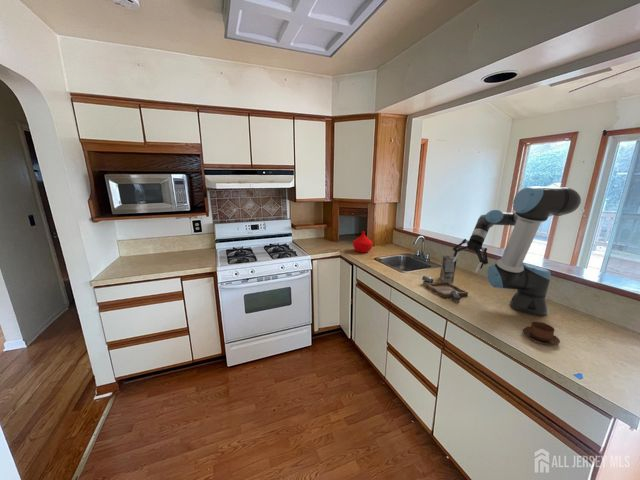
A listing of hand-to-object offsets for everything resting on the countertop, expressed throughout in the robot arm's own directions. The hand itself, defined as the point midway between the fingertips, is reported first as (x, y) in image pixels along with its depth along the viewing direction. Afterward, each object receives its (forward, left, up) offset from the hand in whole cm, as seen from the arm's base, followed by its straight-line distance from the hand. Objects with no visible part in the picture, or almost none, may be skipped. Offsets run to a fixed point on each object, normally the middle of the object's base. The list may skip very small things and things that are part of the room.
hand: (464, 267), depth 151 cm
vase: (+94, +25, -15) cm, 98 cm away
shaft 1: (+11, +16, -15) cm, 25 cm away
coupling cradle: (0, +12, -15) cm, 19 cm away
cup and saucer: (-49, +6, -15) cm, 52 cm away
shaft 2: (-12, +16, -15) cm, 25 cm away
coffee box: (+16, -2, -15) cm, 22 cm away
